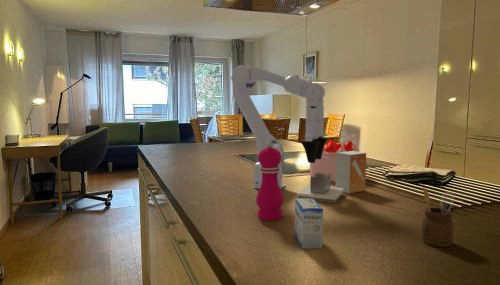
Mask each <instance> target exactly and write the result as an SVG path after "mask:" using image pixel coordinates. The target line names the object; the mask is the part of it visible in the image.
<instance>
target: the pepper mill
mask: <svg viewBox="0 0 500 285" xmlns="http://www.w3.org/2000/svg"><path fill="white" fill-rule="evenodd" d="M266 146H267V148H264V149H262V150H261V151H260V152H259V151H258V156H257V160H258V161H257V162H259V163H260V164H261V166H260V168H261V170H260V172H262V183H261V187H260V189H258V191H257V194H256V197H255V198H256V199H255V204H256V205H257V207H258V210H257V216H258V218H259V220H263V221H269V222H270V221H271V222H273V221H278V220H280V219H282V216H283V214H282V213H283V211H282V209H281V208H282V206H283V205H284V202H285V201H284V194H283V192H282V190H281V189H280V188H279V185H278V179H277V175H278V172H279V166H278V164H279V163H280V162H281V161H282V157H281V154H280V152H279V151H278V150H277V149H275V148H272V147H273V143H272V142H267V144H266Z"/></svg>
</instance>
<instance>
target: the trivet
mask: <svg viewBox="0 0 500 285" xmlns="http://www.w3.org/2000/svg"><path fill="white" fill-rule="evenodd" d="M343 191H344V188H336V186H335V187H333V186H330V190H329V191H328V192H327V193H326V194H316V193H310V184H307V185H306V186H304V187H303V188H301V189H300V190H299V191H297V192H296V196H297V197H298V198H297V199H300V198H310V199H314V200H315V201H316V202H317V203H318V202H320V203H330V204H335V203H336V202H337V201H338V200H339V199H340V197H342V195H343V193H344V192H343Z"/></svg>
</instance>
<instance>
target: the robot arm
mask: <svg viewBox="0 0 500 285" xmlns="http://www.w3.org/2000/svg"><path fill="white" fill-rule="evenodd" d="M230 79H231V82H232V96H233V99H234V101H235V103H236V104H237V106H238V108H239V110H240V112H241V113H242V116H243V117H244V119H245V121H246V123H247V124H248V127H249V128H250V130H251V133H252V135H253V136H254V138H255V140H256V148H257V151H258V153H259V152H260V151H261V150H262V149H264V148H267V146H266V144H267V142H272V143H273V147H272V148H275V149H277V150H278V151H279V152H280V154H281V158H282V157H283V155H284V153H285V152H284V147H283V145H282V144H280V143H279V142H278V141H277V139H276V138H275V137H274V135H272V134H271V133H270V131H269V130H268V128H267V126H266V123H265V122H264V120H263V118H262V116H261V114H260V112H259V111H258V109H257V107H256V106H255V104H254V102H253V100H252V98H251V95H250V94H251V92H252V89H253V87H254V86H255V85H256V83H258V82H262V81H266V82H269V83H272V84H276V85H278V86H281V87H283V89H284V91H285V92H287V93H289V94H293V95H295V96H297V97H298V96H299V97H301V98H305V100H306V102H305V103H306V106H305V139H304V140H301V145H302V146H303V148H304V151H305V155H306V159H307V160H306V161H307V163H309V164H310V163H315V160H316V159H321V157H322V152H323V148H324V147H325V146H326V144H327V143H326V142H328V138H327V137H326V136H328V133H327V132H325V133H324V131H325V130H324V126H325V123H324V122H325V120H324V115H325V113H324V112H325V111H324V110H325V108H324V107H325V106H324V97H325V96H326V91H325V90H326V89H325V88H324V87H325V86H323V85H321V84H320V83H319V82H315V83H314V82H313V80H312V79H309V80H307V79H305V78H302V77H300V75H298V74H294V75H293V74H291V75H289V76H287V77H286V76H283V75H281V74H278V73H275V72H272V71H269V70H267V69H264V68H260V67H254V66H247V65H243V64H240V65H237V66H235V68H234V69H233V71H232V74H231V76H230ZM282 164H283V162H282V160H281V162H280V163H279V164H278V166H279V172H278V175H277V179H278V185H279V188H280V190H281V189H282V188H285V187H286V185H287V184H285V183H284V184H282V183H283V180H282V179H283V178H282V176H283V166H282ZM253 166H254V167H253V186H252V188H253V189H258V190H259V189H260V187H261V183H262V172H260V170H261V168H260V166H261V164H260V163H259V161H257V162H256V163H255V164H254V165H253Z"/></svg>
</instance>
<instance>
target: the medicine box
mask: <svg viewBox="0 0 500 285" xmlns="http://www.w3.org/2000/svg"><path fill="white" fill-rule="evenodd" d="M323 229H324V209H323V208H322V207H321V205H320V204H319V203H318V201H315V200H314V199H310V198H300V199H298V198H295V199H294V230H293V231H294V233H293V234H294V236H295V239H296V240H297V242H298V243H299V245H300V247H301V249H302V250H306V249H307V250H312V249H311V248H317V249H323V241H324V240H323V239H324V238H323V237H324V236H323V233H324V232H323V231H324V230H323Z"/></svg>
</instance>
